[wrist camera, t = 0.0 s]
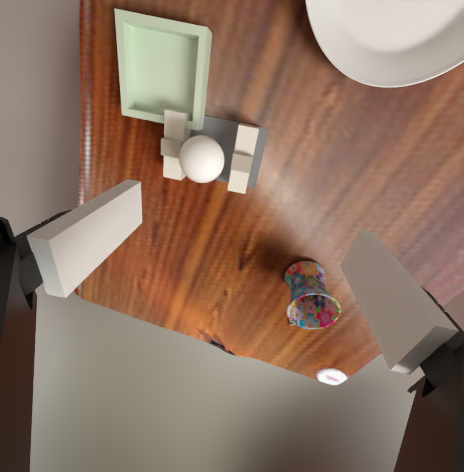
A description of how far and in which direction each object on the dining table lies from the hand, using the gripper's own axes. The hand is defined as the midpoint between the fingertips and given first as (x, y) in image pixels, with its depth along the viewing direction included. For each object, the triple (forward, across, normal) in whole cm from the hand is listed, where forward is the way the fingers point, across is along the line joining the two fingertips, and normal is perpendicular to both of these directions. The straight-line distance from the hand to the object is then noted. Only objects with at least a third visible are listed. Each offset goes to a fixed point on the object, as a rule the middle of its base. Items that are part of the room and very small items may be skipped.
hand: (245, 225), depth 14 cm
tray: (+28, -15, +7) cm, 33 cm away
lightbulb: (+28, -7, -2) cm, 29 cm away
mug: (+28, +16, -25) cm, 41 cm away
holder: (+28, -7, -2) cm, 29 cm away
